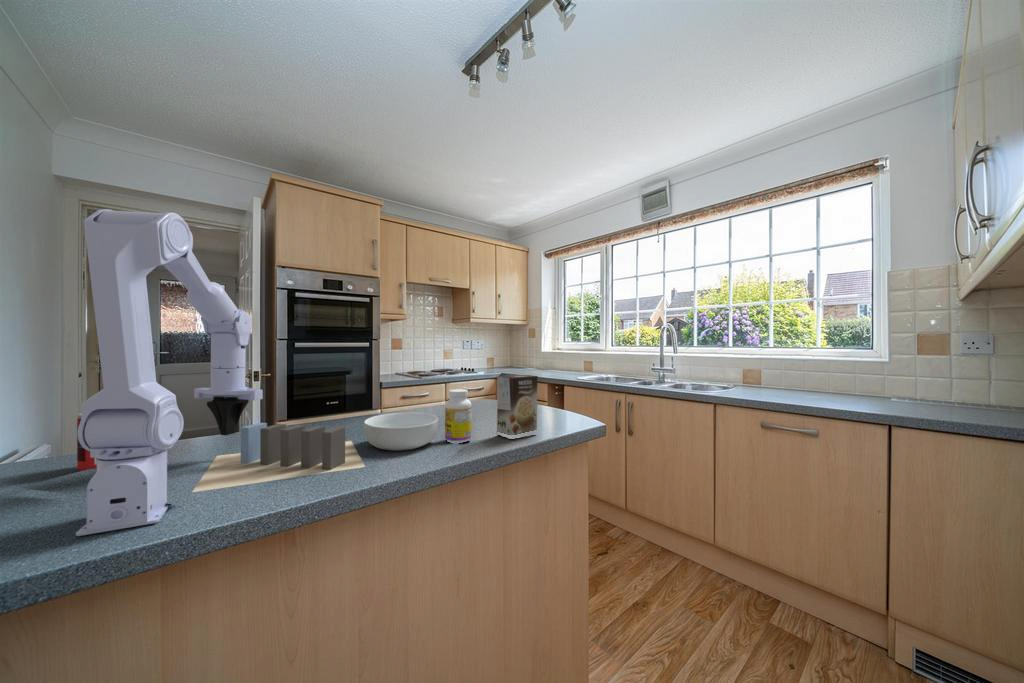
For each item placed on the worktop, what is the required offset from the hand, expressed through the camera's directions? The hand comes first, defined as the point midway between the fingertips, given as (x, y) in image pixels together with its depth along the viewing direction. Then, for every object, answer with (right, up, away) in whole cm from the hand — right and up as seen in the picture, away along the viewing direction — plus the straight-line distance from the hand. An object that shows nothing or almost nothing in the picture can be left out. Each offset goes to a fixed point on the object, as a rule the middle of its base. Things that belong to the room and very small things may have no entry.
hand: (228, 434), depth 78 cm
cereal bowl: (+32, -6, +11) cm, 35 cm away
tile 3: (+15, -5, -3) cm, 16 cm away
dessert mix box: (+60, -7, +24) cm, 65 cm away
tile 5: (+24, -5, -5) cm, 25 cm away
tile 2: (+11, -5, -2) cm, 12 cm away
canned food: (-22, -6, -3) cm, 23 cm away
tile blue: (+6, -5, -1) cm, 8 cm away
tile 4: (+19, -5, -4) cm, 20 cm away
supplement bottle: (+45, -6, +18) cm, 49 cm away
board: (+13, -6, -2) cm, 15 cm away
